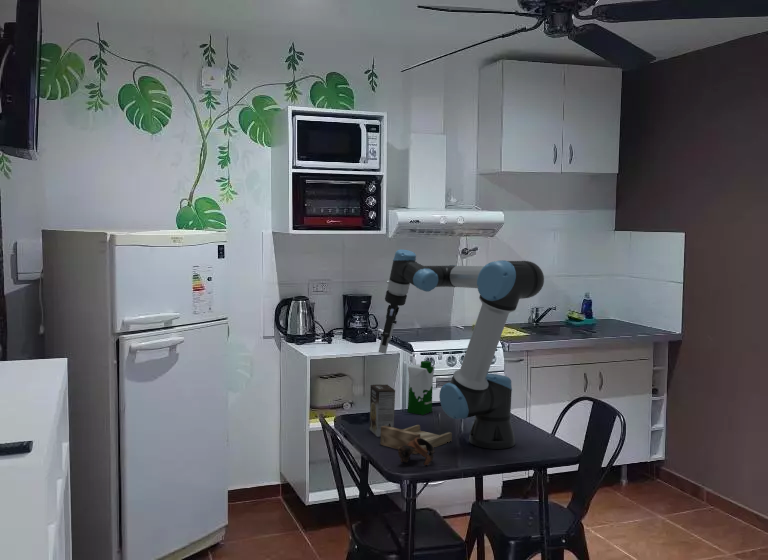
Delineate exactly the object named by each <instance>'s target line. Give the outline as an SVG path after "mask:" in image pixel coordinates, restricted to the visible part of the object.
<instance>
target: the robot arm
mask: <svg viewBox="0 0 768 560" xmlns="http://www.w3.org/2000/svg"><path fill="white" fill-rule="evenodd" d="M416 260H417V255H416V253H415V252H413V251H412V250H408V249H397V250H396V251H395V253H394V256H393V259H392V263H391V264H392V265H391V270H390V275H389V280H387V281H386V283H387V284H388V285H387V290H386V292H385V295H384V296H385V297H384V301H385V302H386V303H388V306H387V309H386V315H385V319H386V320H385V322H384V326H383V331H382V333H380V337H381V339H380V344H379V348H378V353H380V354H384V355H386V354H387V350H388V346H389V343H390V342H389V341H391V340H392V337H393V332H394V328H395V325H397V322H398V321H397V316H398V313H399V311H400V310H399V309H400V307H399V306H401V307H402V306H404V305H405V304H406V301H407V297H408V295H407V294H408V293H409V289H410V284H411V285H412V286H414V287H415V288H417V289H418V290H421V291H424V292H431V291H433V290H435V288H442V287H443V288H448V287H449V288H464V289H465V288H468V289H477V291H478V293H479V297H478V298H479V300H480V303H481V307H480V309H479V313H478V316H477V318H476V321H475V324H474V328H473V330H472V332H471V336H470V339H469V342H468V345H467V347H466V351H465V354H464V357H463V360H462V363H461V366H460V369H457V370H455V371H454V372H453V375H452V377H451V381H450V382H447V383H445V384H443V385H442V386H441V388H440V390H439V403H440V405H441V409H442V411H443V412H444V413H445V415H446V416H447V417H449V418H450V419H453V420H466V419H467V418H473V417H474V421H473V424H472V426H471V429H470V432H469V439H468V441H469V444H471V445H473V446H476V447H478V448H484V449H491V450H502V449H510V448H512V447H514V446H515V443H516V436H515V433H514V430H513V426H512V422H511V413H512V412H511V411H512V392H513V388H512V380H511V378H510V377H509V376H506V375H502V374H497V373H496V374H495V373H489V370H490V367H491V365H492V362H493V359H494V356H495V354H496V351H497V348H498V345H499V342H500V341H501V337H502V334H503V331H504V328H505V325H506V322H507V320H508V318H509V314H510V313H512V312H515V311H516V310H517V307H518V304H519V301H520V299H521V300H522V299H530V298H533V297H534V296H536V295H537V294H539V293H540V292H541V291H542V289H543V286H544V283H545V275H544V273H543V270H542V269H541V267H540V266H539V265H538V264H536V263H535V262H533V261H529V260H504V259H501V260H496V261H491V262H488V263H486V264H485V265H483V266H482V265H455V264H452V265H451V264H450V265H423V264H421V263H418V262H417V261H416Z"/></svg>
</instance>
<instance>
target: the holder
mask: <svg viewBox="0 0 768 560" xmlns="http://www.w3.org/2000/svg"><path fill="white" fill-rule="evenodd" d="M452 436H453V433H452V432H450V431H447V432H445V433H442V434H437V433H433V432H429V431H428V432H427V431H424V430H421V425H420V424H416V425H413V426H412V425H411V426H409V427H406V428H403V429H401V428H397V427H394V428H393V427H389V426H381V437H380V443H379V444H380V446H384V447H388V448H391V449H395V450H399V448H400V447H402V446H403V445H406V444H407V443H408V442H410V441H413V440H414V439H415V438H422V439H424V440H426V441H428V442H429V443H430V444H431V445H432V446H433V448H434V447H435V448H438V447H440V446H442V445H445V444H448V443H450V441H451V442H452V441H453V439H452V438H453V437H452ZM447 442H448V443H447ZM420 446H421V447H422V448H423V449H425V450H427V448H426V445H420ZM435 448H434V449H435ZM412 454H413V455H418V454H419V453H418V452H416V451H415V449H414V448H413V452H412Z"/></svg>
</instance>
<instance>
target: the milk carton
mask: <svg viewBox="0 0 768 560" xmlns="http://www.w3.org/2000/svg"><path fill="white" fill-rule="evenodd" d="M435 369H436V367H435V366H432V362H431V361H429V360H421V361H420V364H419V363H416V364H414V365H409V366H407V371H408V392H407V393H408V395H407V397H408V399H407V413H410V414H416V415H420V414H421V415H420V416H424V414H425V415H427V414H429V412H430V413H432V412H433V382H434V373H435ZM426 413H427V414H426Z"/></svg>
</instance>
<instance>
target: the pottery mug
mask: <svg viewBox="0 0 768 560" xmlns="http://www.w3.org/2000/svg"><path fill="white" fill-rule="evenodd" d="M420 445H426V448H427V450H425V449H423V448H422V447H421V446H420ZM413 448H414V449H415V451H416V452H418V454H419V455H421V456H423V457H424V458H425V460H424V462H423V465H424V466H425V465H427V466H429V464H430V463H431V462H432V461H433V459H434V454H435V452H436V450H435V448H433V446H432V445H431V444H430V443H429V442H428V441H426V440H424V439H422V438H415V439H414V440H413V441H410V442H408V443H407V444H406V445H403V446H402V447H400V448H399V450H398V449H397V450H398V454H397V455H398V457H399V458H400V462H401V463H403V462H404V463H408V462H409V459H410V457H411V455H412V454H413V453H412V452H413Z"/></svg>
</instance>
